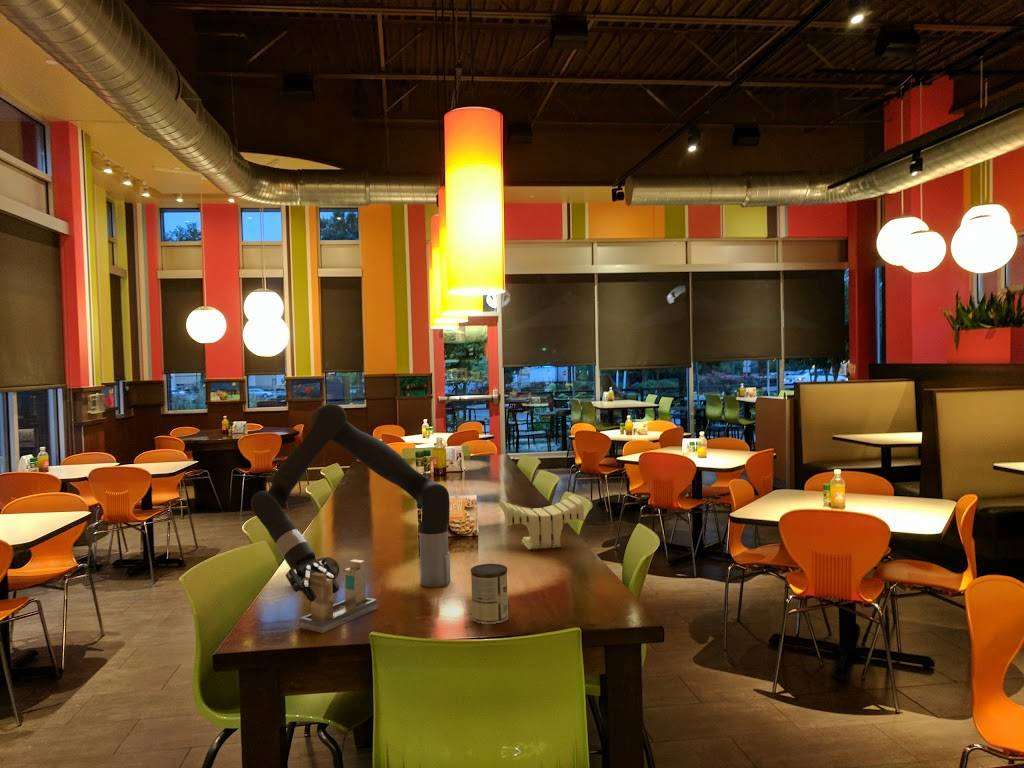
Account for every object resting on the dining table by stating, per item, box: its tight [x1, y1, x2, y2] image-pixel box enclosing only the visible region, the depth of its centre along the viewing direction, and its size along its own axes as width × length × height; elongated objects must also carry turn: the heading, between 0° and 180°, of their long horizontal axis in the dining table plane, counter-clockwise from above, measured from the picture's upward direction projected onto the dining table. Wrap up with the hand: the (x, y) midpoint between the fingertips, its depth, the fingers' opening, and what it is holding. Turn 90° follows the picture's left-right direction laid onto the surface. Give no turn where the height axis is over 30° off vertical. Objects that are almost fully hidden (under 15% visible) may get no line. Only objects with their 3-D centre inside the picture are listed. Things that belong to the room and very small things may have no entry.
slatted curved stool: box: [498, 494, 585, 550], centre depth 286 cm, size 30×16×18 cm, turn 101°
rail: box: [299, 558, 378, 634], centre depth 208 cm, size 22×8×14 cm, turn 149°
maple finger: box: [309, 572, 334, 621], centre depth 202 cm, size 4×4×13 cm
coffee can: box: [470, 563, 509, 625], centre depth 205 cm, size 10×10×14 cm
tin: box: [297, 556, 340, 586], centre depth 243 cm, size 15×3×8 cm, turn 105°
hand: (325, 595), depth 202 cm, fingers open, 8 cm apart
